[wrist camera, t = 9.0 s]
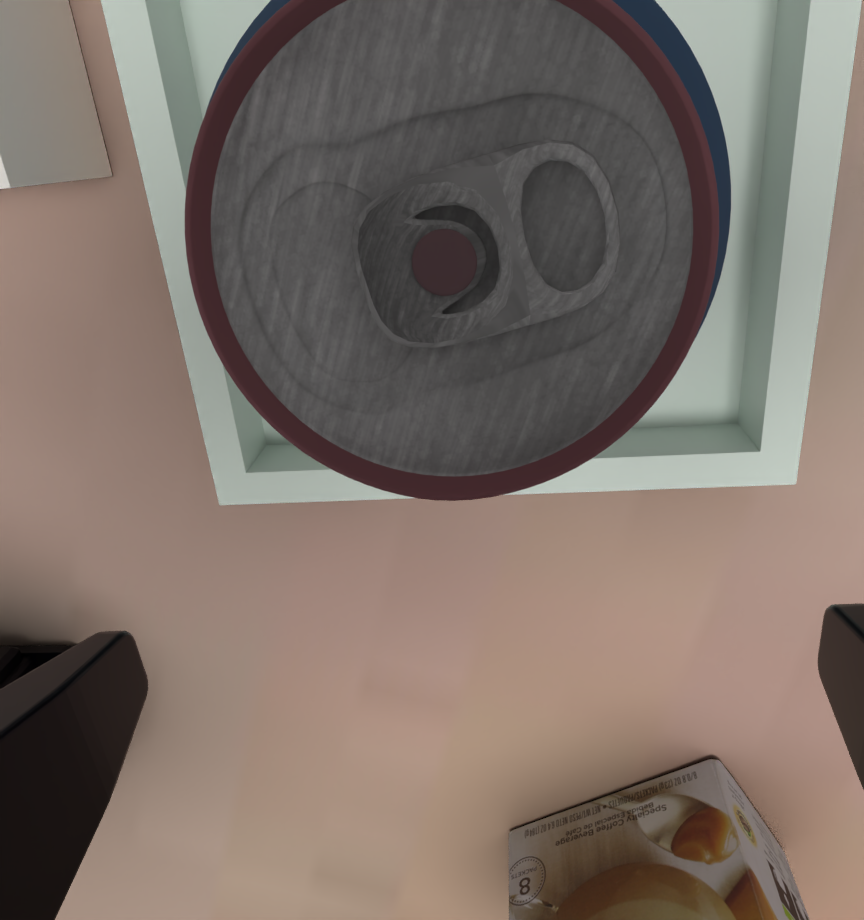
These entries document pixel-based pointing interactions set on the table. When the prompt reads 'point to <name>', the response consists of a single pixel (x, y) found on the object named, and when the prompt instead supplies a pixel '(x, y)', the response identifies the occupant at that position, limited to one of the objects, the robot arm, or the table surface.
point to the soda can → (457, 231)
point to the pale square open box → (45, 99)
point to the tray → (731, 312)
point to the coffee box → (654, 856)
